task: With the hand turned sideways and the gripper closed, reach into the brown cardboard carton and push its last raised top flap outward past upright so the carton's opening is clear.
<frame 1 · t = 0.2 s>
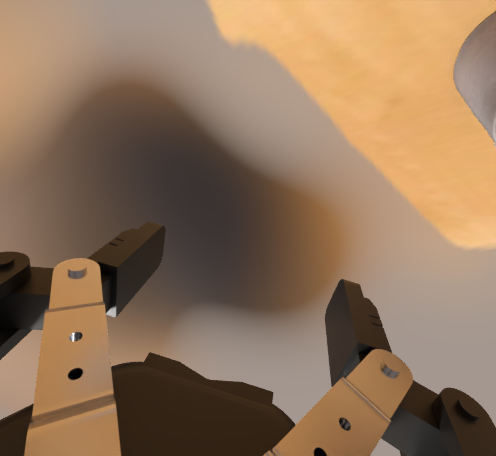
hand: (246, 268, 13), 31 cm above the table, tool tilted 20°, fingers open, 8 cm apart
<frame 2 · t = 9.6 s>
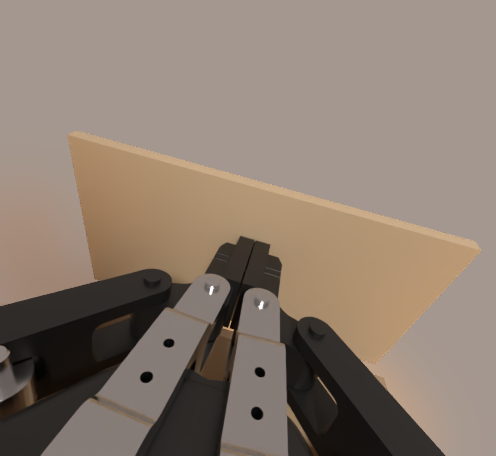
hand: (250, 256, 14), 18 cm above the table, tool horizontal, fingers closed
carton flap: (247, 263, 15), point 17 cm above the table, hinge at 79.3°, touching gripper
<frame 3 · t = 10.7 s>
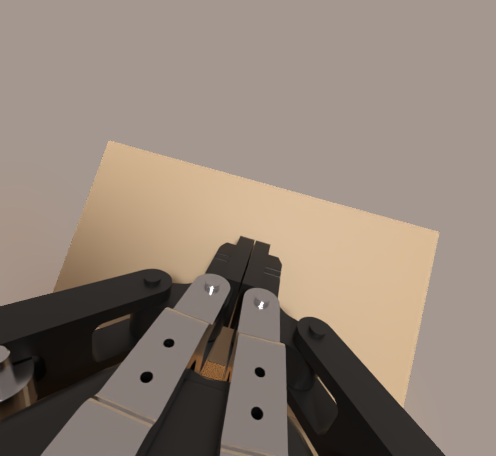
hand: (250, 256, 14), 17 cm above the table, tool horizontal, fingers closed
carton flap: (244, 270, 14), point 16 cm above the table, hinge at 124.3°, touching gripper
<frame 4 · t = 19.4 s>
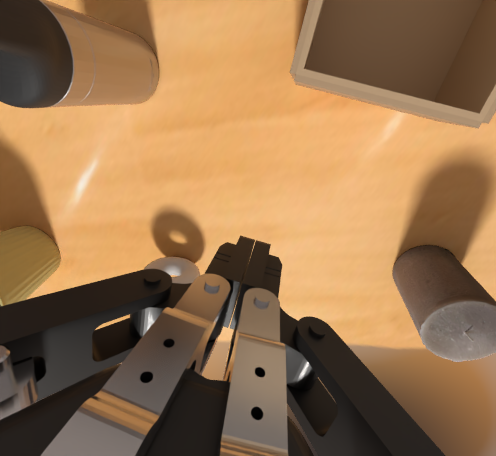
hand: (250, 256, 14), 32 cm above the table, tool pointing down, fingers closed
carton: (393, 16, 34), on the table
donut: (182, 260, 54), on the table
potted cactus: (37, 249, 60), on the table
pillar candle: (422, 270, 47), on the table
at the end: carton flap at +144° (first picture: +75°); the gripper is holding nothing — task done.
